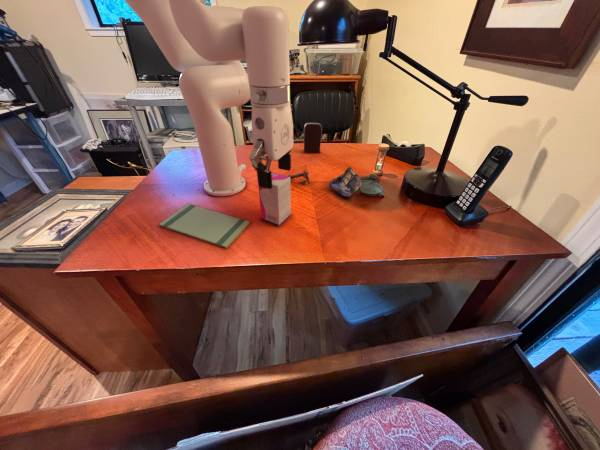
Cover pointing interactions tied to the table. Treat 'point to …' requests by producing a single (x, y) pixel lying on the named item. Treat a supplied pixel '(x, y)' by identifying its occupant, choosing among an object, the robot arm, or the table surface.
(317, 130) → the battery charger
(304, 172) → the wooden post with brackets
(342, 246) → the table surface
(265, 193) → the supplement box
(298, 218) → the table surface
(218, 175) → the robot arm
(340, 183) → the snack package
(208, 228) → the towel
